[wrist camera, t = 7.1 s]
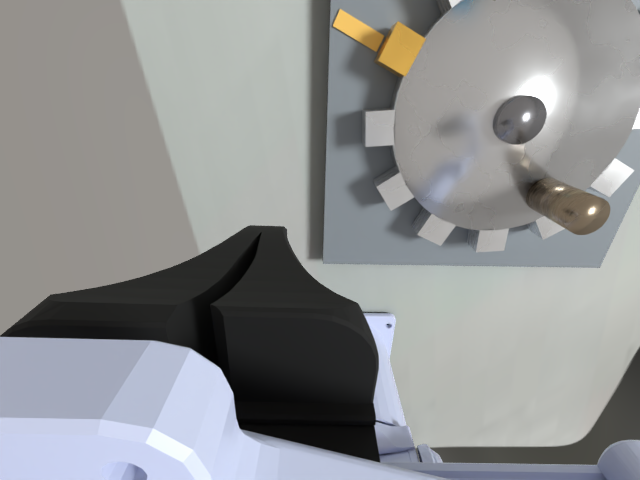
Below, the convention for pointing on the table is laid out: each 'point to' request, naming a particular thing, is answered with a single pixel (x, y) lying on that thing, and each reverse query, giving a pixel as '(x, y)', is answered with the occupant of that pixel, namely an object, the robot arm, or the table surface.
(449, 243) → the base plate
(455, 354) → the table surface
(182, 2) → the table surface
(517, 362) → the table surface
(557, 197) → the sprocket
